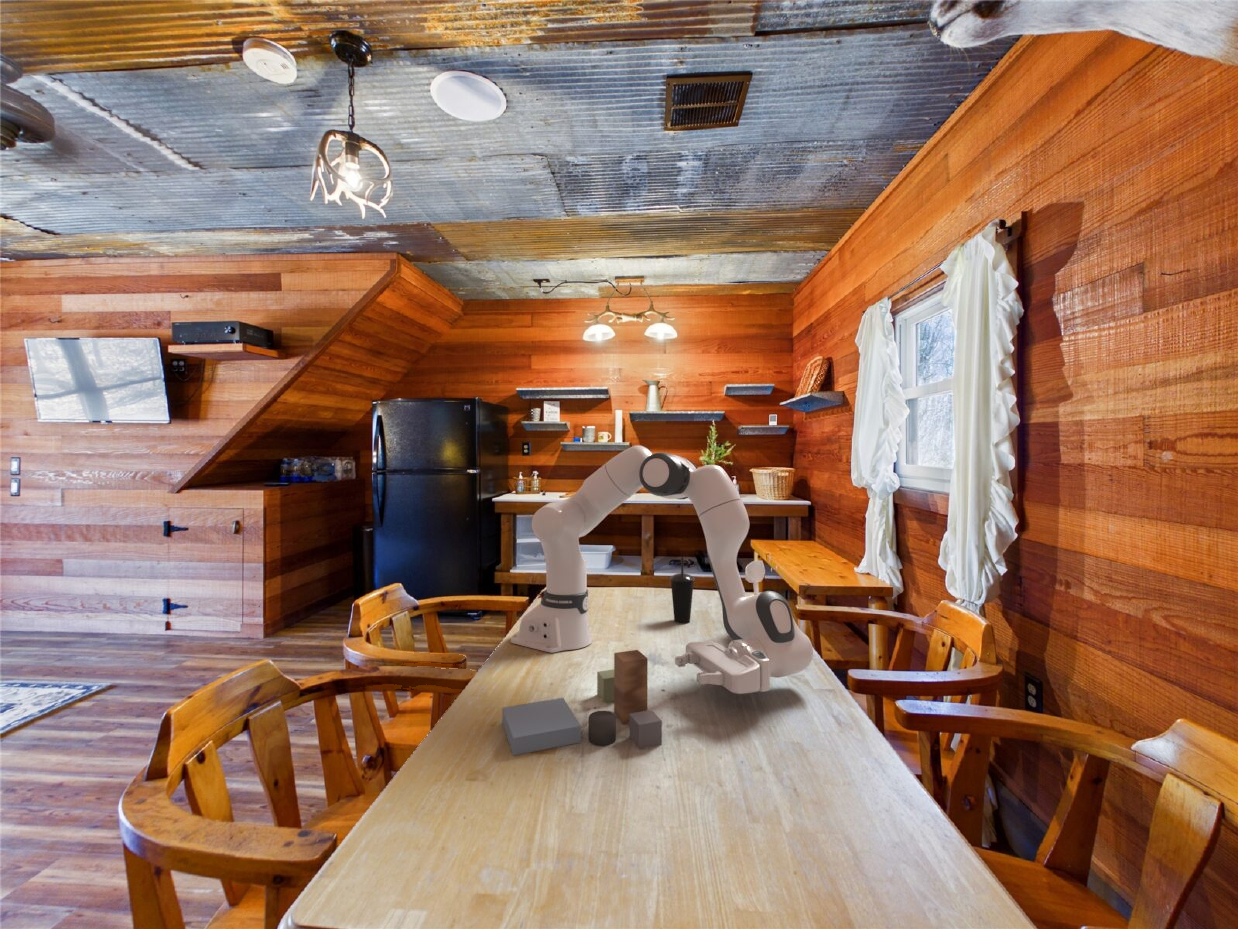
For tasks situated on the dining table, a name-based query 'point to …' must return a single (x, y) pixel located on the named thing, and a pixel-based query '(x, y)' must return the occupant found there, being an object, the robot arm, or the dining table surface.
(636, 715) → the mauve grey cube
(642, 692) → the walnut block
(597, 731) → the charcoal cylinder
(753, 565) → the potted plant
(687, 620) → the drinking cup
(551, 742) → the slate riser
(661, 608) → the dining table surface
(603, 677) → the olive block
